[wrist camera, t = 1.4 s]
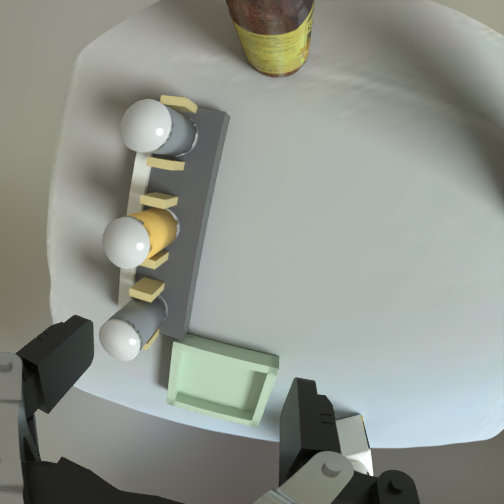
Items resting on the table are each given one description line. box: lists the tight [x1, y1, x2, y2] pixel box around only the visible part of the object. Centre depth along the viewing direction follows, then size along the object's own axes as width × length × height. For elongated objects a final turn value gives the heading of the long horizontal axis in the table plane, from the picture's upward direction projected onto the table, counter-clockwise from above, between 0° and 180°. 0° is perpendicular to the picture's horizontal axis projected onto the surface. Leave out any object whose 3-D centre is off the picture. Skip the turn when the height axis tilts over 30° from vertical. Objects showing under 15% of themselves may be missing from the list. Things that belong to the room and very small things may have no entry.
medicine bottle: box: [336, 415, 373, 476], centre depth 32 cm, size 7×7×12 cm
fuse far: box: [99, 294, 168, 361], centre depth 29 cm, size 4×4×8 cm
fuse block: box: [118, 95, 230, 350], centre depth 30 cm, size 8×24×6 cm, turn 167°
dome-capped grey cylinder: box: [120, 99, 199, 156], centre depth 25 cm, size 4×4×8 cm
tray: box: [167, 333, 279, 428], centre depth 36 cm, size 12×10×2 cm
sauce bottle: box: [226, 0, 314, 77], centre depth 18 cm, size 6×6×20 cm
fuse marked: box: [103, 207, 180, 269], centre depth 27 cm, size 4×4×8 cm
